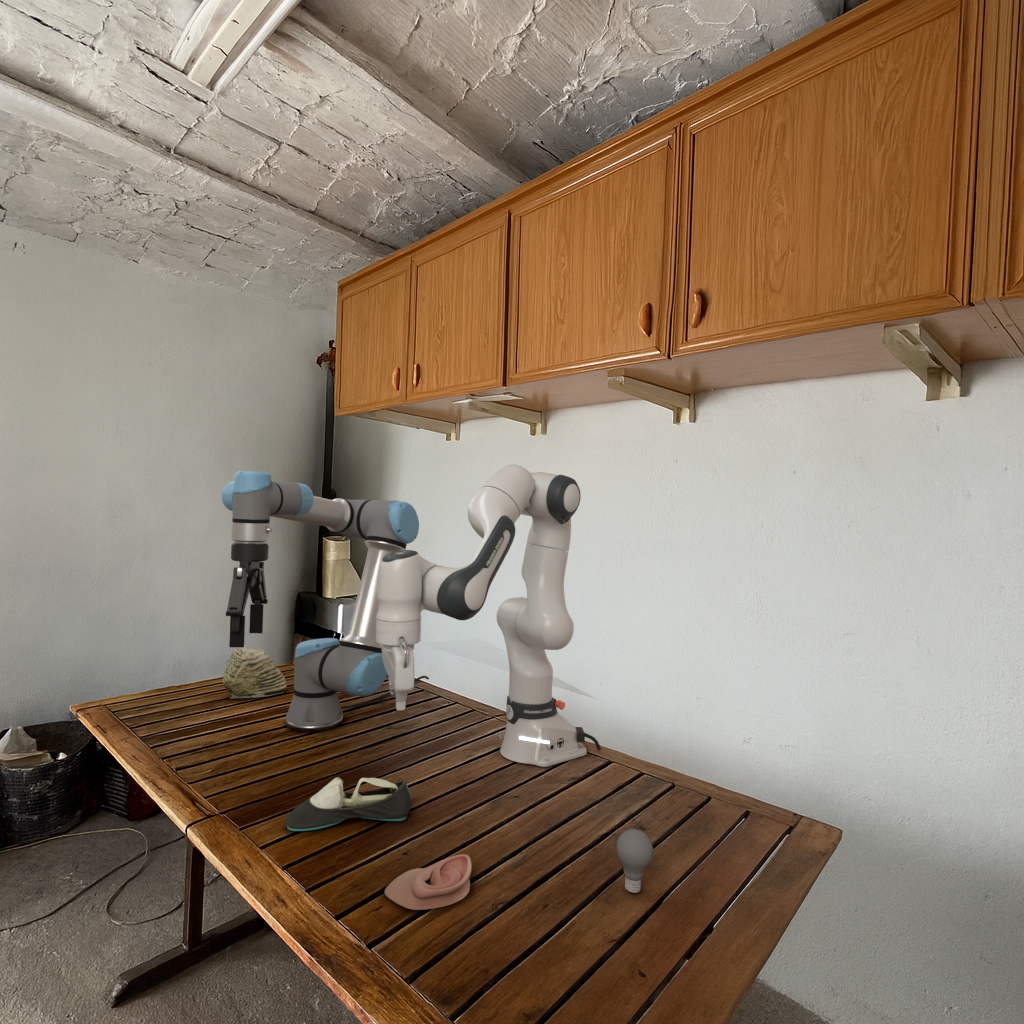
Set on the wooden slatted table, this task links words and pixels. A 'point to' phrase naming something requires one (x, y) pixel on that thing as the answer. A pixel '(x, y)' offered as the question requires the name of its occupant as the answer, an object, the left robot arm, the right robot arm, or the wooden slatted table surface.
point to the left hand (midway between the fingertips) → (246, 639)
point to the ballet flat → (351, 805)
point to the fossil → (252, 674)
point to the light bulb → (634, 857)
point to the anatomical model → (432, 884)
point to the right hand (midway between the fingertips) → (397, 701)
